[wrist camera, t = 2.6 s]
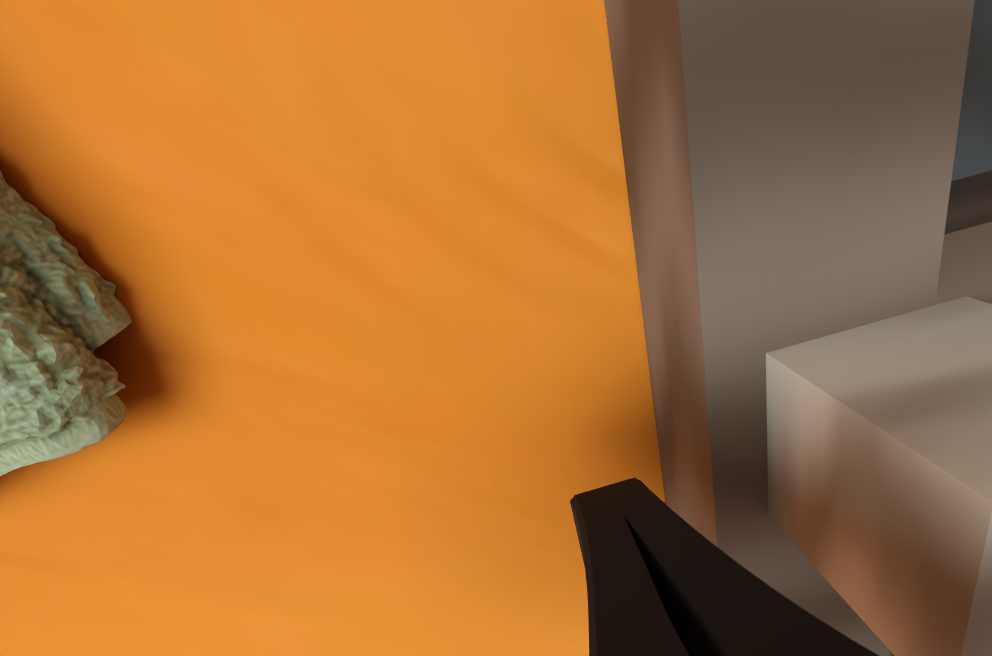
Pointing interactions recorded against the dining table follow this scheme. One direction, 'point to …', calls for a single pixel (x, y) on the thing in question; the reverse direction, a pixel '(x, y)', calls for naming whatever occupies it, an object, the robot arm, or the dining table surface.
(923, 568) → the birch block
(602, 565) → the robot arm
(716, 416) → the trap box
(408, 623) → the dining table surface
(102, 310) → the washcloth
